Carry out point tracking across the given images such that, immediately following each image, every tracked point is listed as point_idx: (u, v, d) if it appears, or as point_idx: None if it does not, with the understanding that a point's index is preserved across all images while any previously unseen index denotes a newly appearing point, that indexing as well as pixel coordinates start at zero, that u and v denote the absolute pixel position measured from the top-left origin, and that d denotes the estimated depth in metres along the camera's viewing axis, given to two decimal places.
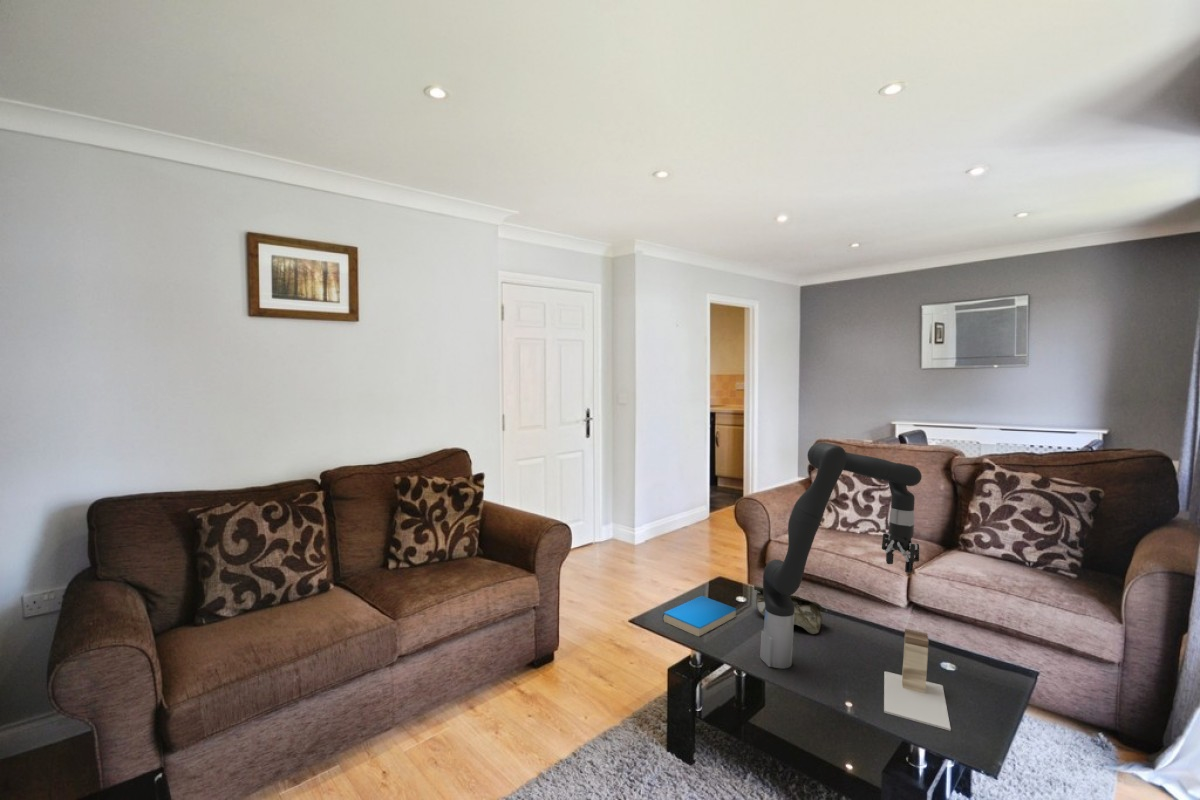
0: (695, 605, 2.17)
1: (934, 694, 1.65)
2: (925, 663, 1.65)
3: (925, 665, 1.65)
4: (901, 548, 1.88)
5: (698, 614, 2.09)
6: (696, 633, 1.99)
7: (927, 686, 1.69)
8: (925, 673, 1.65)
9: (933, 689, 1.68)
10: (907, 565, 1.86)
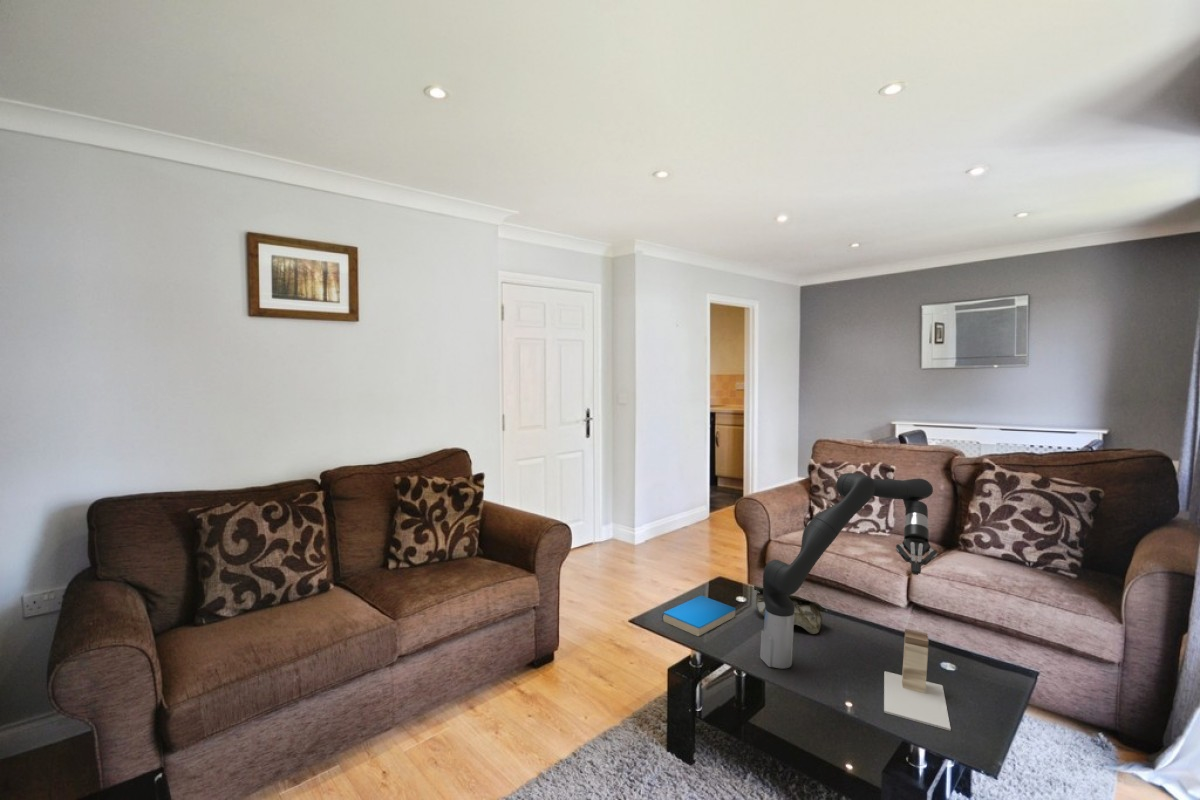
0: (695, 605, 2.17)
1: (934, 694, 1.65)
2: (925, 663, 1.65)
3: (925, 665, 1.65)
4: (920, 549, 1.88)
5: (698, 614, 2.09)
6: (696, 633, 1.99)
7: (927, 686, 1.69)
8: (925, 673, 1.65)
9: (933, 689, 1.68)
10: (918, 565, 1.85)
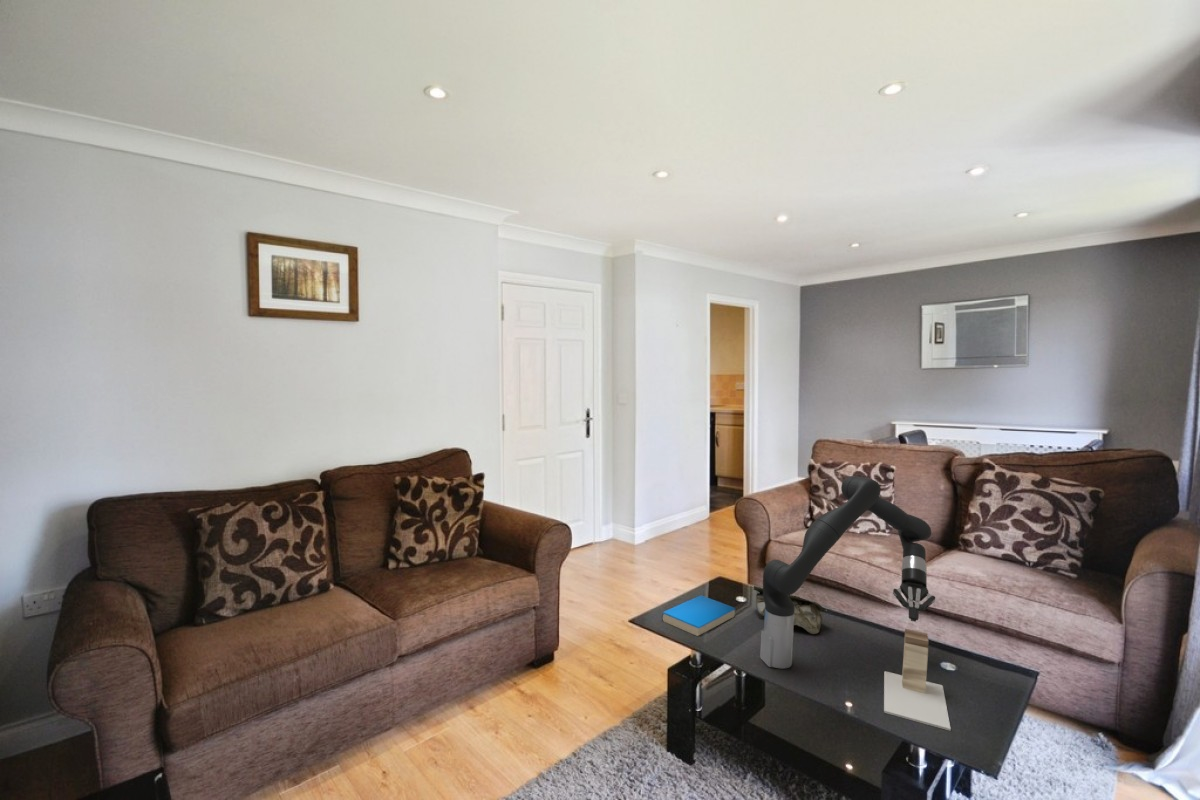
0: (694, 604, 2.17)
1: (934, 694, 1.65)
2: (925, 663, 1.65)
3: (925, 665, 1.65)
4: (918, 595, 1.84)
5: (697, 614, 2.09)
6: (695, 632, 1.99)
7: (927, 686, 1.69)
8: (925, 673, 1.65)
9: (933, 689, 1.68)
10: (916, 612, 1.82)
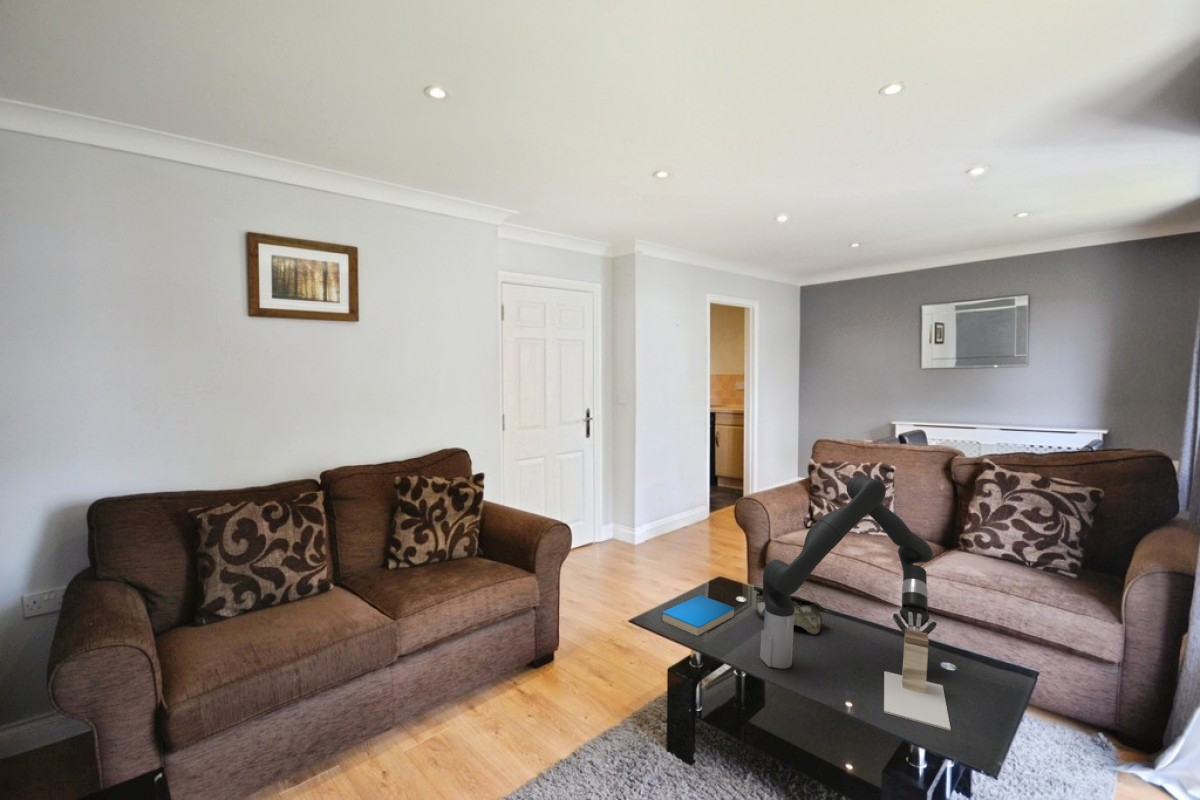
0: (694, 604, 2.18)
1: (934, 694, 1.65)
2: (925, 663, 1.65)
3: (925, 665, 1.65)
4: (919, 620, 1.78)
5: (697, 613, 2.09)
6: (695, 632, 1.99)
7: (927, 686, 1.69)
8: (925, 673, 1.65)
9: (933, 689, 1.68)
10: None
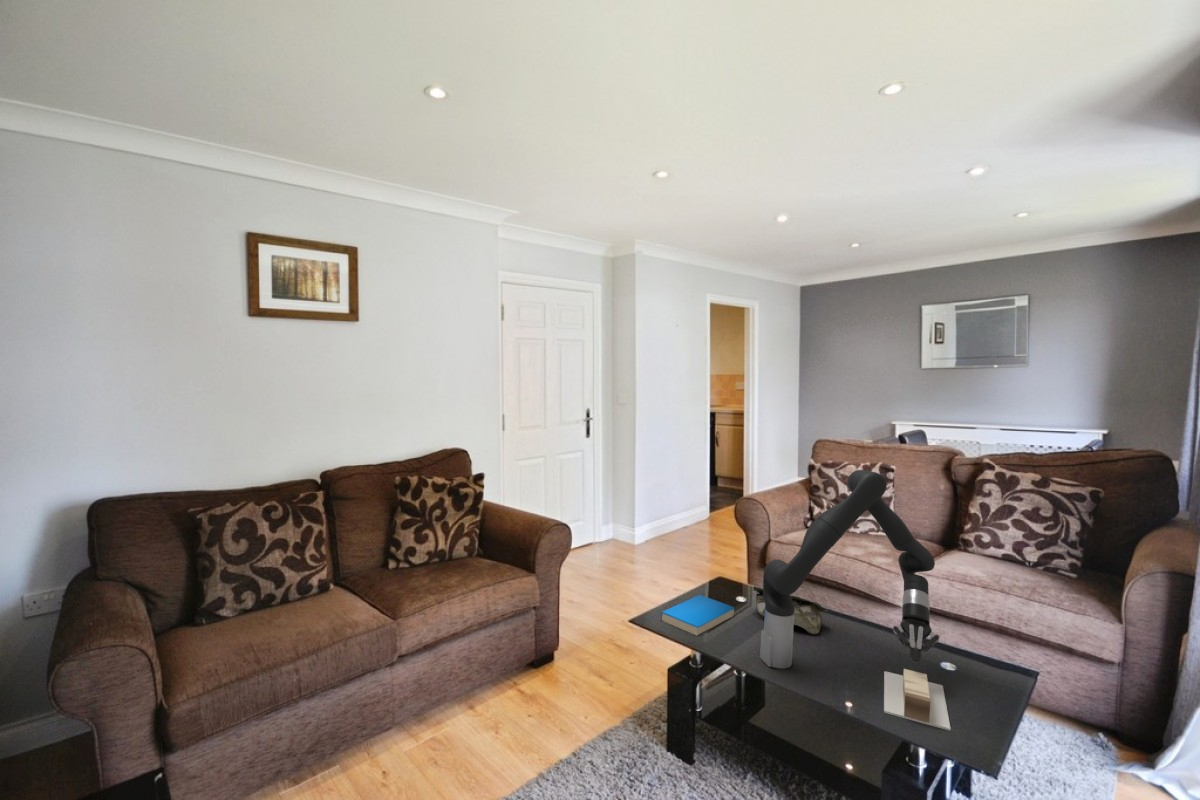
0: (693, 604, 2.18)
1: (934, 694, 1.65)
2: None
3: None
4: (920, 633, 1.69)
5: (696, 613, 2.10)
6: (694, 632, 2.00)
7: None
8: None
9: (933, 689, 1.68)
10: (918, 653, 1.66)
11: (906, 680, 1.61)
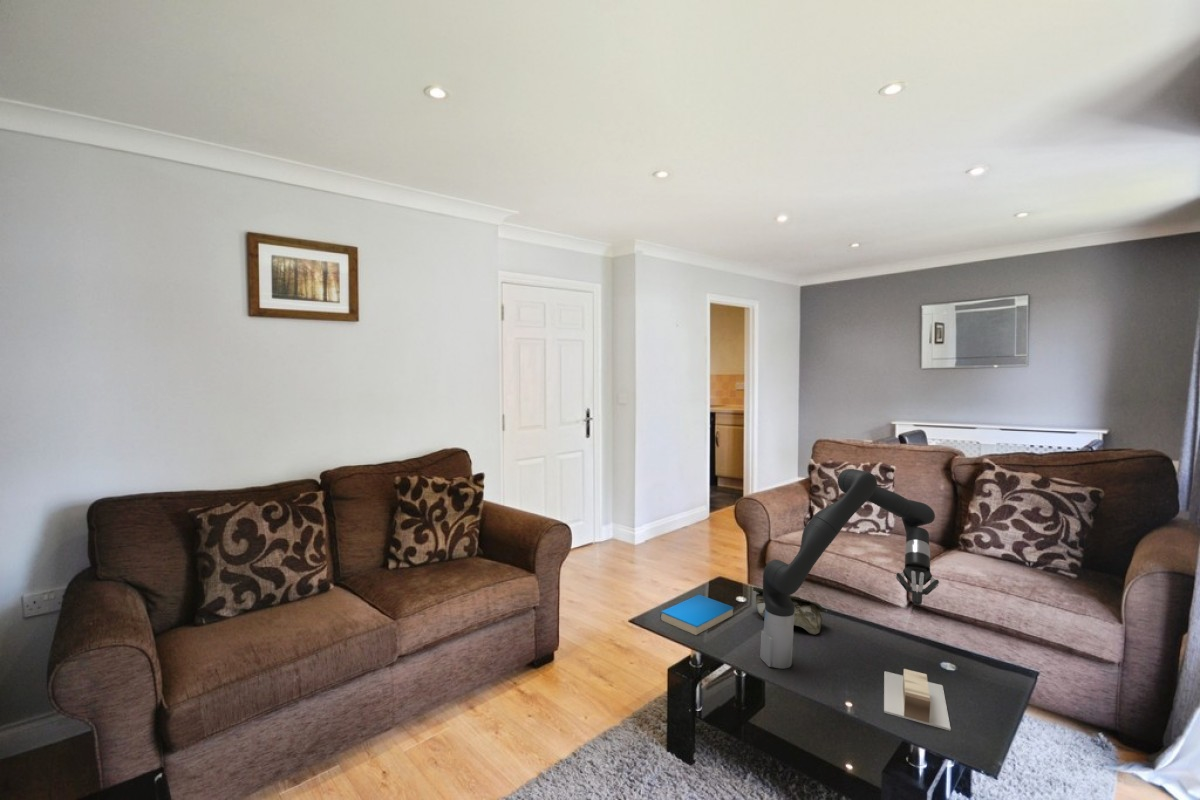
0: (693, 604, 2.18)
1: (934, 694, 1.65)
2: None
3: None
4: (922, 579, 1.83)
5: (695, 613, 2.10)
6: (693, 632, 2.00)
7: None
8: None
9: (933, 689, 1.68)
10: (919, 596, 1.80)
11: (906, 680, 1.61)
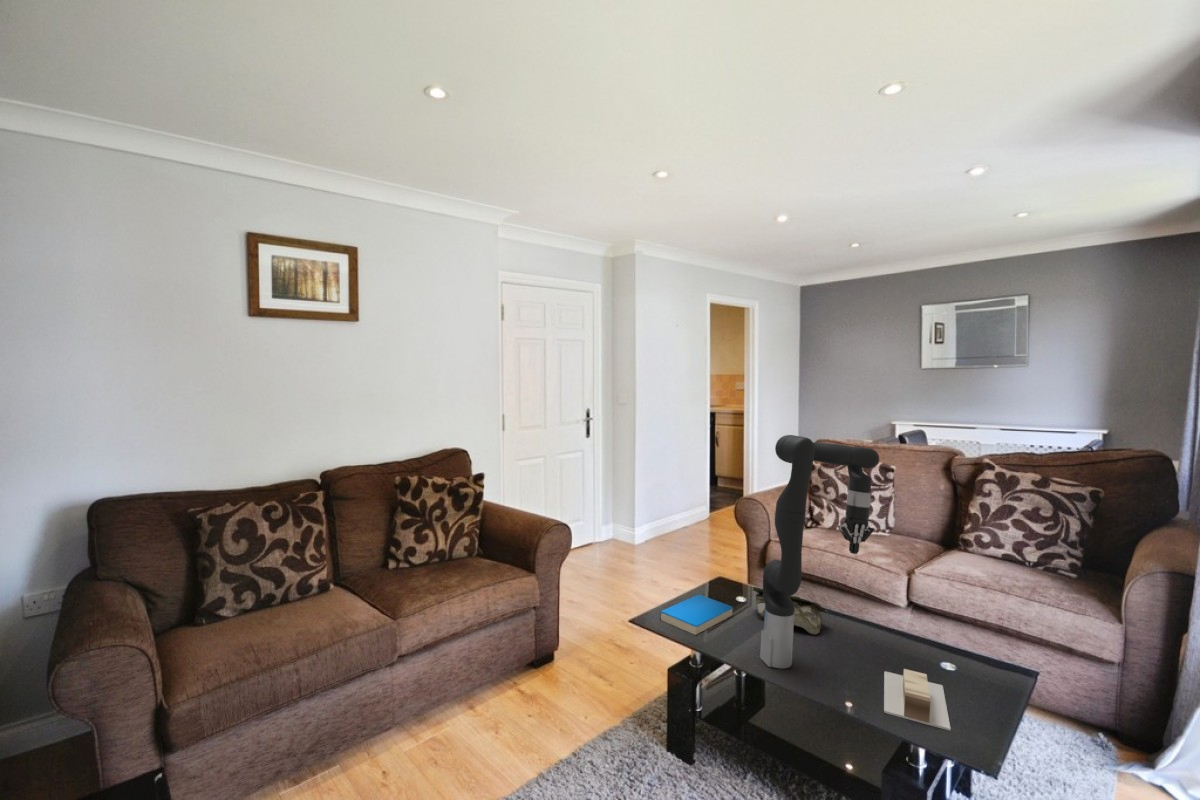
0: (692, 604, 2.18)
1: (934, 694, 1.65)
2: None
3: None
4: (862, 530, 1.91)
5: (695, 612, 2.10)
6: (693, 631, 2.00)
7: None
8: None
9: (933, 689, 1.68)
10: (857, 547, 1.92)
11: (906, 680, 1.61)
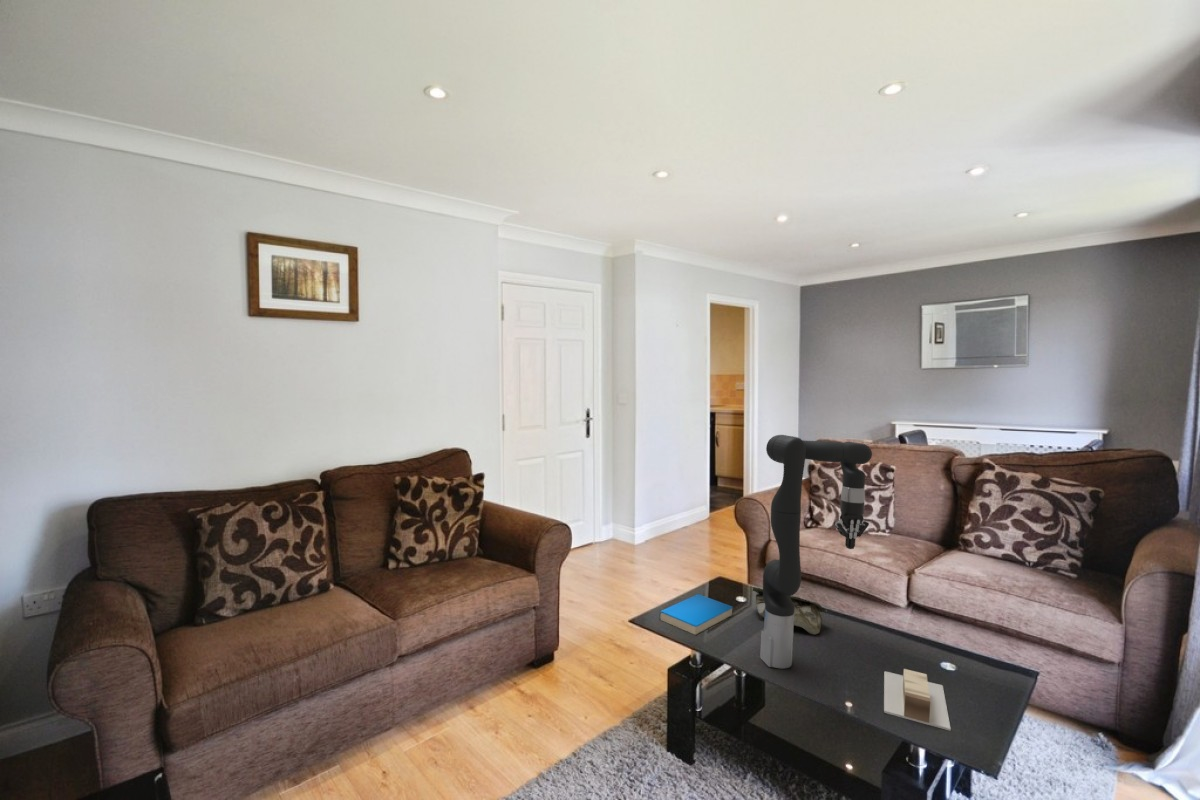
0: (692, 603, 2.18)
1: (934, 694, 1.65)
2: None
3: None
4: (857, 526, 1.91)
5: (695, 612, 2.10)
6: (693, 631, 2.00)
7: None
8: None
9: (933, 689, 1.68)
10: (853, 542, 1.92)
11: (906, 680, 1.61)
